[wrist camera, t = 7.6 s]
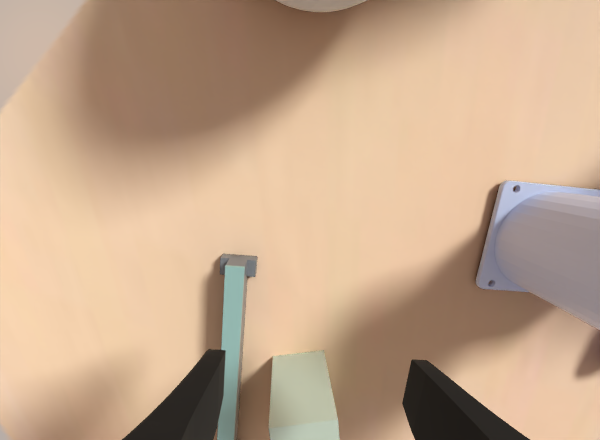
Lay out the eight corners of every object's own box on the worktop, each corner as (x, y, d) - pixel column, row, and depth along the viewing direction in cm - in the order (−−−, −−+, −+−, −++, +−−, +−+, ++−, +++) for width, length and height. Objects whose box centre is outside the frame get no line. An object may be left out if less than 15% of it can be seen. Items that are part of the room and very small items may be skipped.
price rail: (257, 256, 20) (254, 268, 18) (243, 457, 24) (239, 487, 22) (223, 253, 20) (215, 265, 18) (214, 456, 23) (207, 487, 21)
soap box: (329, 422, 23) (344, 509, 18) (282, 428, 23) (281, 518, 17) (323, 349, 22) (338, 419, 16) (272, 355, 22) (268, 428, 16)
